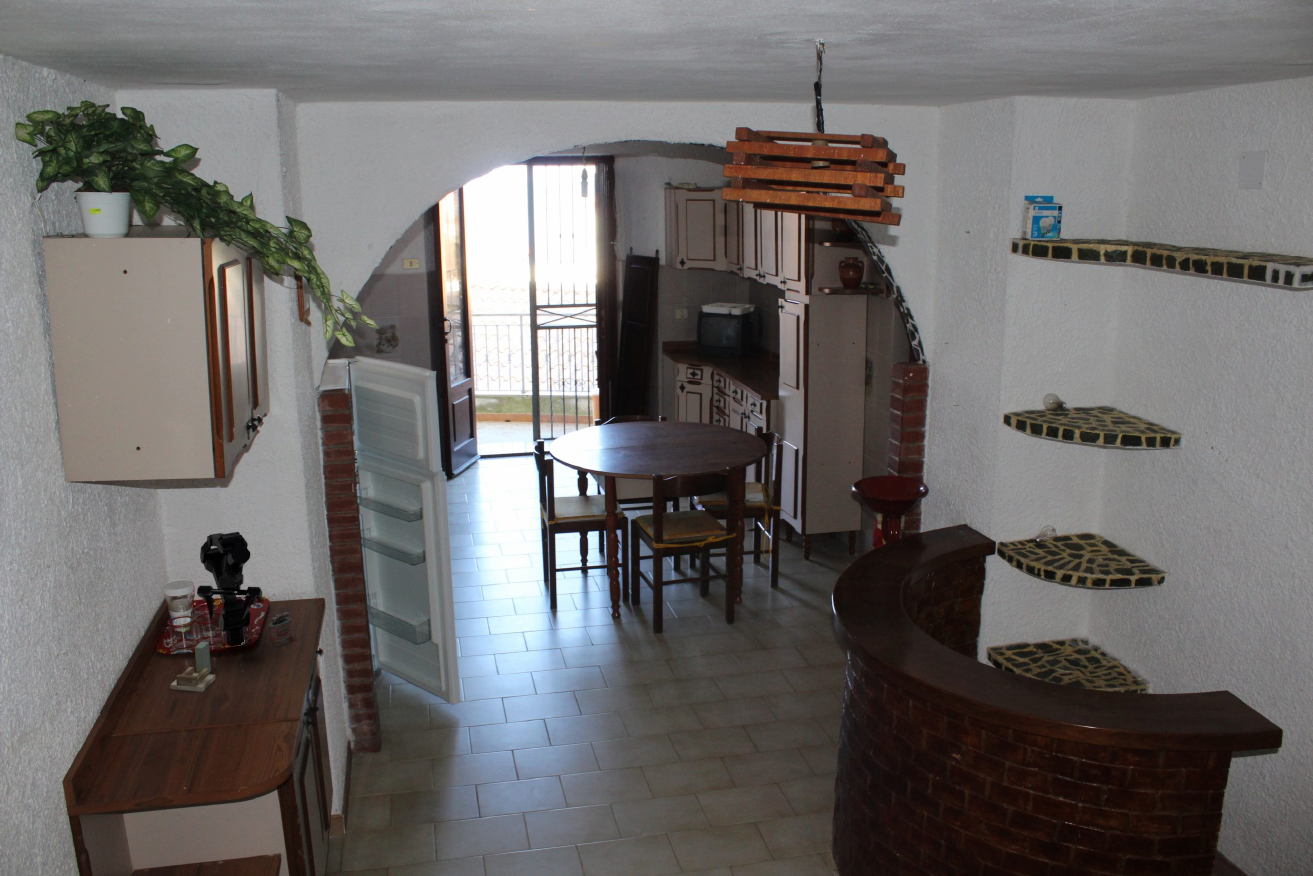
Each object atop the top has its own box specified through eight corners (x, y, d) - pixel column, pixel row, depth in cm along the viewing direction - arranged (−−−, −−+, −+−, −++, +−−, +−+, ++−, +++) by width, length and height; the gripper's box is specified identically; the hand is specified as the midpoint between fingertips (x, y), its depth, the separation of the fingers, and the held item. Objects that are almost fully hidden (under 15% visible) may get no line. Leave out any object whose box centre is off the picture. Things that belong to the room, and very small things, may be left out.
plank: (203, 670, 318) (201, 641, 316) (210, 671, 318) (208, 642, 315) (196, 676, 314) (194, 647, 312) (204, 677, 314) (202, 648, 312)
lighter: (274, 648, 335) (272, 620, 332) (267, 645, 337) (266, 617, 334) (294, 639, 341) (293, 612, 339) (288, 636, 343) (286, 609, 341)
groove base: (184, 676, 314) (183, 663, 313) (215, 679, 313) (214, 665, 312) (170, 689, 306) (169, 675, 305) (202, 691, 306) (201, 678, 305)
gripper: (197, 563, 314) (189, 613, 309) (260, 565, 318) (254, 614, 313) (203, 572, 324) (196, 620, 319) (265, 574, 329) (259, 621, 323)
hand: (226, 619), depth 318 cm, fingers open, 9 cm apart
